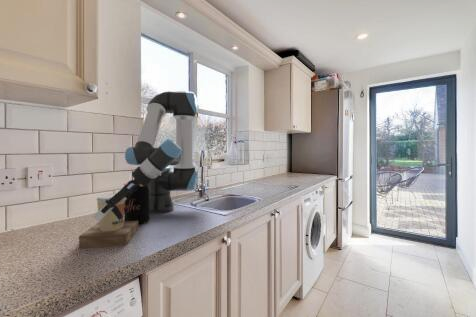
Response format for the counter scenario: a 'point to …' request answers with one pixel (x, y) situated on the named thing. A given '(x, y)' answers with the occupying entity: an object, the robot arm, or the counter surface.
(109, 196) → the coffee cup
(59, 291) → the counter surface
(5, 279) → the counter surface
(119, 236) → the walnut riser
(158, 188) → the robot arm
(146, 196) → the coffee jar
